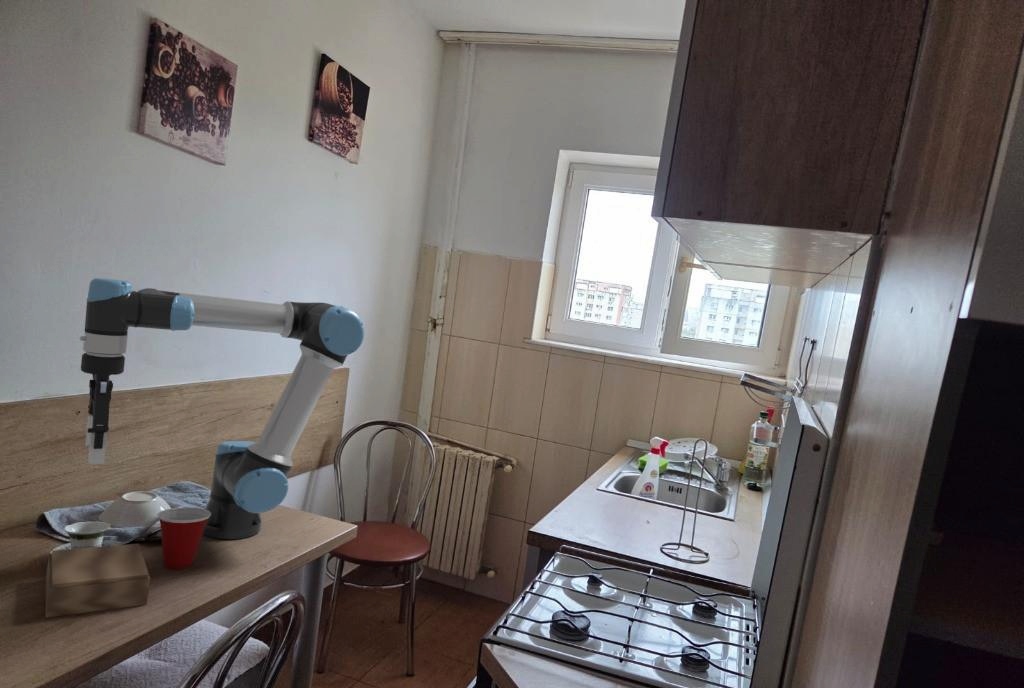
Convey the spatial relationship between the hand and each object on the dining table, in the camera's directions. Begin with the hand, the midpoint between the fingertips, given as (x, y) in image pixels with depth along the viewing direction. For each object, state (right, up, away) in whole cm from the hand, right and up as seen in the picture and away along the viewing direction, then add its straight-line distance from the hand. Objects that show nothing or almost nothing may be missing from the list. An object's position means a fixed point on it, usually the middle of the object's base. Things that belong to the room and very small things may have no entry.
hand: (94, 454), depth 132 cm
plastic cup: (+12, -27, +10) cm, 31 cm away
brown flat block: (+5, -26, -7) cm, 27 cm away
